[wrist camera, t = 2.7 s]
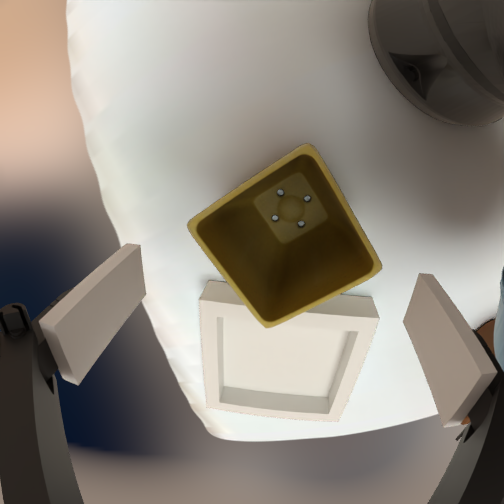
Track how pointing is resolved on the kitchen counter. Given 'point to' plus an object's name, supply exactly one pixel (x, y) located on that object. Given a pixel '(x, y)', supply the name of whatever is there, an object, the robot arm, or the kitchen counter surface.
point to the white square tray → (283, 356)
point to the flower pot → (286, 239)
